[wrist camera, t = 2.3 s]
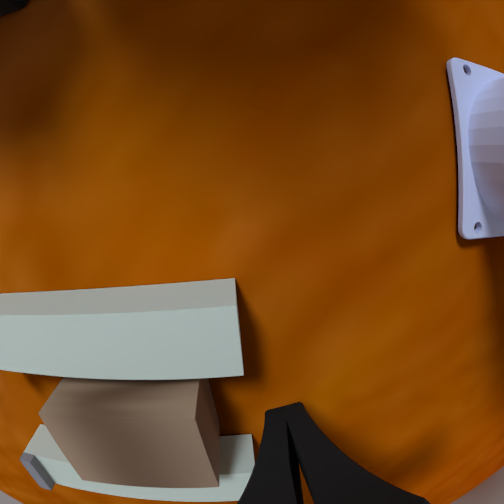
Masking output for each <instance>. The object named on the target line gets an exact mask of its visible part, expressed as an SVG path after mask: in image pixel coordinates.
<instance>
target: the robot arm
mask: <svg viewBox="0 0 504 504" xmlns="http://www.w3.org/2000/svg"><path fill="white" fill-rule="evenodd" d="M463 68H464V69H465V71H466V73H465V72H464V70H463ZM447 71H448V77H449V83H450V89H451V95H452V102H453V110H454V119H455V128H456V139H457V154H458V178H459V213H458V232H459V234H460V236H461V237H462V238H465V239H479V238H488V237H498V236H504V74H503V73H500V72H497V71H495V70H492V69H489V68H487V67H484V66H481V65H478V64H475V63H472V62H469V61H466V60H463V59H459V58H452V59H450V60H448V61H447ZM475 224H476V229H475V231H474V226H475ZM298 462H299V464H298ZM299 465H300V467H301V470H302V473H303V475H304V478H305V481H306V483H307V486H308V488H309V491H310V494H311V496H312V499H313V501H314V504H430V503H429V502H428V501H427V500H426V499H425V498H423V497H420V496H417V495H415V494H412V493H409V492H407V491H405V490H402V489H400V488H398V487H396V486H394V485H391V484H389V483H388V482H386V481H384V480H382V479H380V478H379V477H377V476H375V475H373V474H372V473H370V472H368V471H367V470H366V469H364V468H363V467H361V466H360V465H358V464H357V463H356V462H354V461H353V460H352V459H350V458H349V457H348V456H347V455H346V454H344V453H343V452H342V451H341V450H340V449H339V448H338V447H337V446H336V445H334V444H333V443H332V442H331V441H330V440H329V439H328V437H327V436H326V435H325V434H324V433H323V432H322V431H321V430H320V429H319V427H318V426H317V425H316V424H315V422H314V421H313V420H312V418H311V417H310V416H309V414H308V413H307V411H306V409H305V408H304V406H303V403H300V402H297V403H294V404H290V405H286V406H282V407H278V408H274V409H270V410H267V411H266V412H265V423H264V430H263V436H262V440H261V444H260V449H259V453H258V456H257V459H256V462H255V465H254V468H253V471H252V473H251V476H250V478H249V481H248V483H247V485H246V487H245V490H244V492H243V494H242V496H241V497H240V499H239V501H238V503H237V504H304V502H303V494H302V486H301V479H300V472H299Z"/></svg>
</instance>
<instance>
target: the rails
mask: <svg viewBox="0 0 504 504" xmlns="http://www.w3.org/2000/svg"><path fill="white" fill-rule="evenodd" d="M0 369H1V370H7V371H14V372H22V373H30V374H39V375H49V376H60V377H73V378H90V379H115V380H173V379H199V378H216V377H230V376H243V375H244V371H243V358H242V346H241V334H240V325H239V315H238V305H237V294H236V284H235V278H231V279H219V280H207V281H195V282H183V283H170V284H157V285H143V286H129V287H114V288H98V289H82V290H65V291H46V292H25V293H2V294H0ZM20 461H21V462H22V464H23V465H24V466H25V468H26V469H27V470H28V472H29V473H30V474H31V476H32V477H33V478H34V479H35V481H36V482H37V483H38V484H39V486H40V487H42V488H45V489H48V490H52V488H53V486H54V484H55V483H56V484H60V485H64V486H68V487H72V488H77V489H82V490H86V491H92V492H97V493H103V494H109V495H115V496H123V497H130V498H139V499H150V500H163V501H185V502H218V501H239V499H240V497H241V496H242V494H243V492H244V490H245V487H246V485H247V483H248V481H249V478H250V476H251V473H252V471H253V468H254V465H255V458H254V450H253V442H252V434H245V435H231V436H220V448H219V487H211V488H154V487H137V486H125V485H115V484H106V483H99V482H92V481H85V480H82V479H81V478H80V476H79V475H78V474H77V472H76V471H75V469H74V468H73V467H72V465H71V464H70V463H69V461H68V460H67V458H66V457H65V455H64V454H63V452H62V451H61V449H60V448H59V446H58V445H57V443H56V442H55V440H54V439H53V437H52V436H51V434H50V432H49V431H48V429H47V427H46V426H45V425H42V424H40V426H39V427H38V429H37V431H36V432H35V434H34V436H33V437H32V439H31V440H30V442H29V444H28V445H27V447H26V449H25V450H24V452H23V454H22V456H21V457H20Z"/></svg>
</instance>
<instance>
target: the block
mask: <svg viewBox="0 0 504 504" xmlns="http://www.w3.org/2000/svg"><path fill="white" fill-rule="evenodd" d="M38 414H39V415H40V417H41V419H42V421H43V422H44V424H45V426H46V427H47V429H48V431H49V432H50V434H51V436H52V437H53V439H54V440H55V442H56V443H57V445H58V446H59V448H60V449H61V451H62V452H63V454H64V455H65V457H66V458H67V460H68V461H69V463H70V464H71V465H72V467H73V468H74V469H75V471H76V472H77V474H78V475H79V476H80V478H81V479H82V480H85V481H92V482H99V483H106V484H115V485H125V486H137V487H154V488H211V487H219V448H220V422H219V418H218V415H217V411H216V407H215V403H214V399H213V395H212V391H211V387H210V383H209V379H208V378H199V379H173V380H115V379H90V378H73V377H63V379H62V380H61V381H60V383H59V384H58V386H57V387H56V388H55V390H54V391H53V393H52V394H51V396H50V397H49V399H48V400H47V401H46V403H45V404H44V406H43V407H42V409H41V410H40V412H39V413H38Z"/></svg>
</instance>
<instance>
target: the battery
mask: <svg viewBox="0 0 504 504" xmlns="http://www.w3.org/2000/svg"><path fill="white" fill-rule="evenodd" d="M27 2H28V0H0V16H2V15H5V14H7V13H10V12H13V11H15V10H18V9H21V8H23V7H24V6H25V5H26V4H27Z"/></svg>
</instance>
